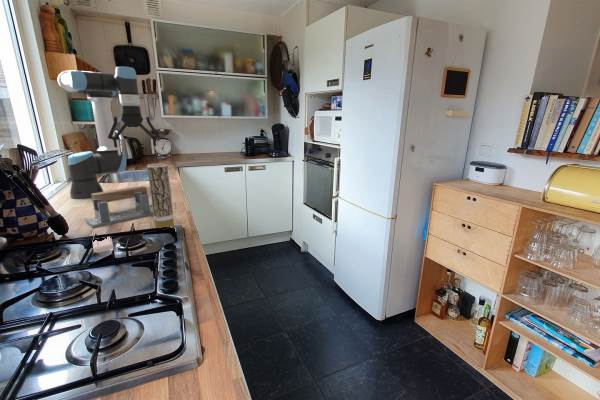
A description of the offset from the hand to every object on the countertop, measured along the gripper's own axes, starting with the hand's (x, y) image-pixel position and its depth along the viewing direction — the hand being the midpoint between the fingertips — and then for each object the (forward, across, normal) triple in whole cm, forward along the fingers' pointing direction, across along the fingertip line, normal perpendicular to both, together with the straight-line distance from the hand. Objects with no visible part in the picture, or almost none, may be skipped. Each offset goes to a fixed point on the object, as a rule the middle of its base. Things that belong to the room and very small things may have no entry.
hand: (136, 154), depth 139 cm
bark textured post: (+26, +7, -34) cm, 43 cm away
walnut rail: (+20, -9, +3) cm, 23 cm away
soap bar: (+26, -13, -44) cm, 53 cm away
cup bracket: (+26, -8, -12) cm, 29 cm away
